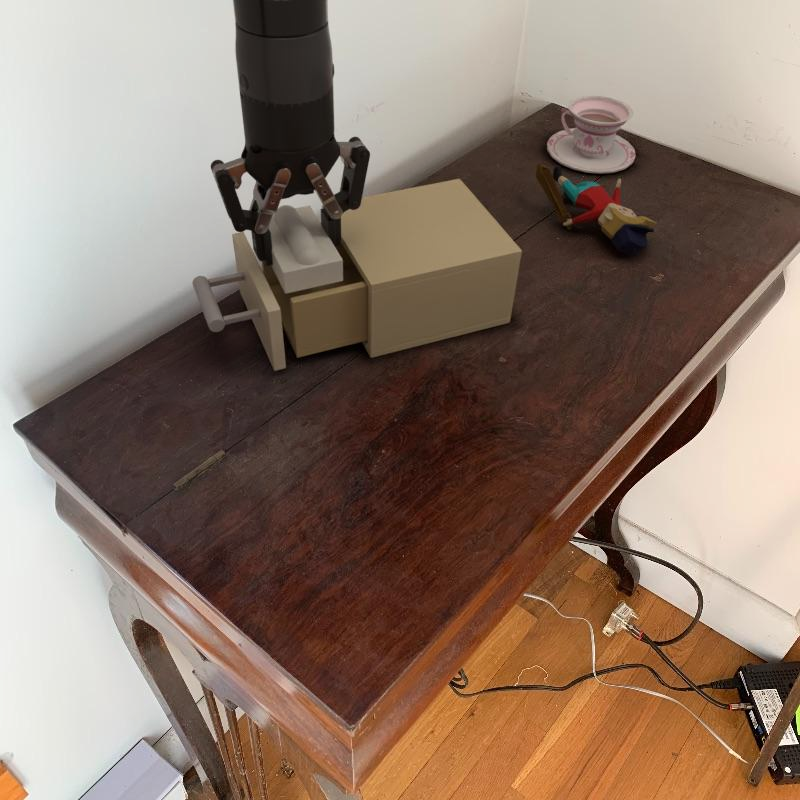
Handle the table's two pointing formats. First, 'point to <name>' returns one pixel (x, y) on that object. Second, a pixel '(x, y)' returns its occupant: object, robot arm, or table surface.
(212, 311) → the drawer
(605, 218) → the toy
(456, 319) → the cabinet
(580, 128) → the teacup
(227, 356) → the table surface
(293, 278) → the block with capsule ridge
